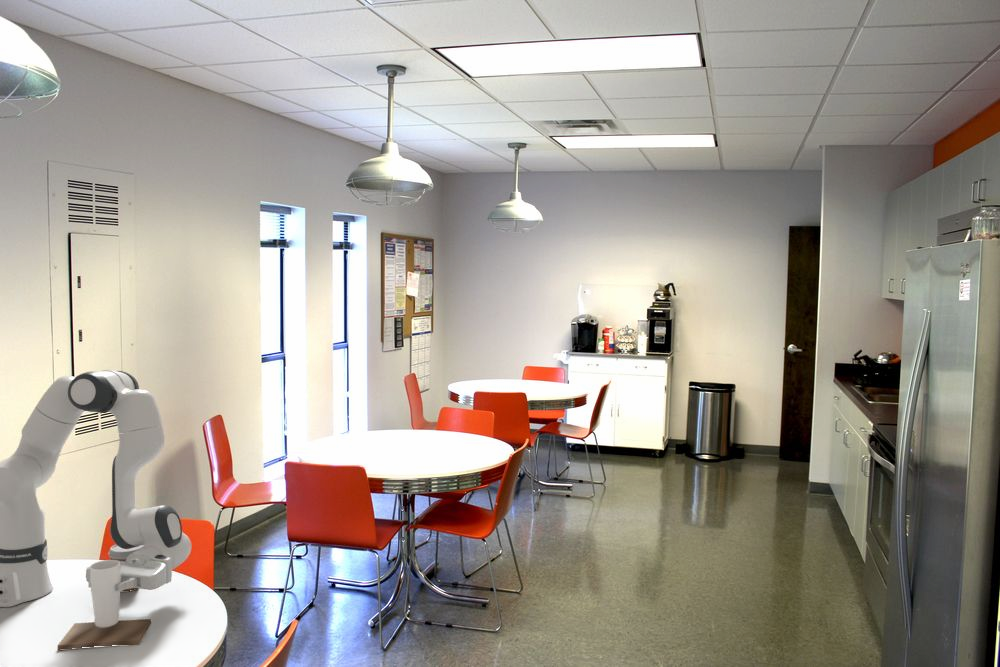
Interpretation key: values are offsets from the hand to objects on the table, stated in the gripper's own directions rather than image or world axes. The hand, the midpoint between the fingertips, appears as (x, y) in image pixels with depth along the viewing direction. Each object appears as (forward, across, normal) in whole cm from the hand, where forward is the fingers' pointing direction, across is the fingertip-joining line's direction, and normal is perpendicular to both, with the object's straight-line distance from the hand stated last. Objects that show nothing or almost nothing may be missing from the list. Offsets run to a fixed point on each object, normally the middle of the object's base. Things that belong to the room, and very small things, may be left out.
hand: (103, 586), depth 189 cm
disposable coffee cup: (-27, -16, +13) cm, 34 cm away
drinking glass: (-1, 0, +10) cm, 10 cm away
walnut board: (-1, 0, +13) cm, 13 cm away
